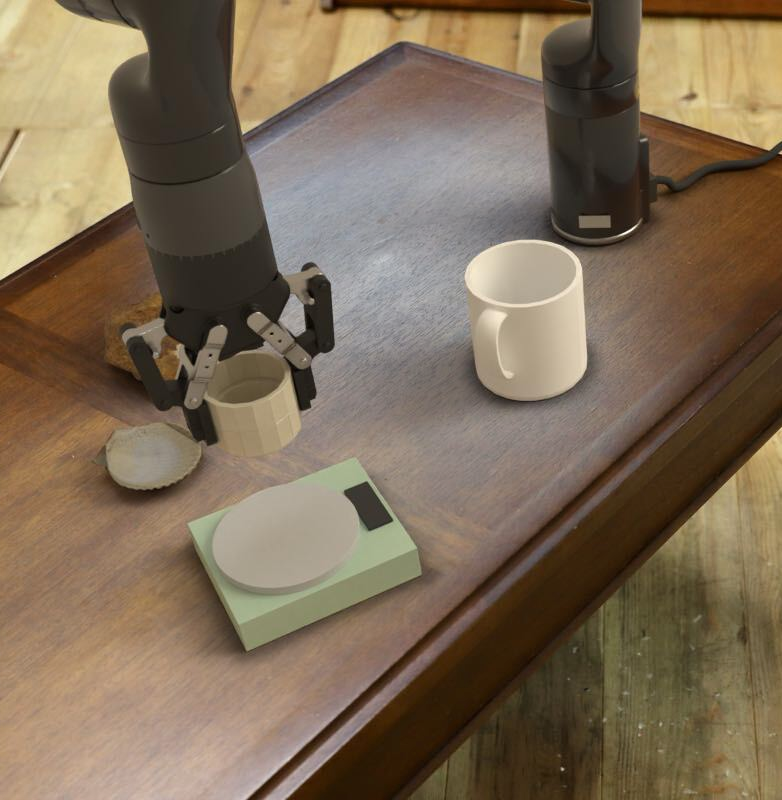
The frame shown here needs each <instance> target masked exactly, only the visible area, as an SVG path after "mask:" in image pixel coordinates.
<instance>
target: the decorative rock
mask: <svg viewBox="0 0 782 800" xmlns="http://www.w3.org/2000/svg"><path fill="white" fill-rule="evenodd" d="M161 307H162V298H161V294H160V292H154V293H152V294H149V293H147V294H146V295H145V296H144V297H142V298H141V299H140V301H139V302H133V303H132V302H131V303H125V304H123V305H119V306H116V307H114V309H113V310H112V311H110V313H109V314H108V315H106V316H105V318H104V321H103V324H104V326H103V329H104V330H103V331H104V332H103V336H104V340H105V347H104V352H105V353H104V358H103V361H104V362H105V363H108V364H110V365H112V366H113V367H117V368H118V369H121V370H123V371H127V372H129V373H131V375H133V377H134V378H135V379H136V380H137V381H140V382H142V380H141V377H140V375H139V373H138V371H137V369H136V367H135V365H134V363H133V361H132V359H131V357H130V355H129V353H128V351H127V349H126V347H125V345H124V343H123V341H122V339H121V337H120V335H119V328H120V327H121V326H122V325H123V324H125V323H134V324H135V325H136V326H137V327H139V326H142V325H144V324H146V323H149V322H151V321H153V320H155V319H158V318H159V314H160V310H161ZM161 346H162V352H161V353H160V357H159V358H158V359H154V360H155V362H156V364H157V367H158V369H159V371H160V373H161V375H162V377H163V379H164V380H175V376H176V373H177V369H178V366H179V361H180V359H179V350H180V347H181V343H179V342H177V341H176V340H174V339H172V338H171V337H169V336H166V337H165V338H164V339H163V340H162V343H161Z"/></svg>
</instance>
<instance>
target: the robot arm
mask: <svg viewBox="0 0 782 800" xmlns="http://www.w3.org/2000/svg"><path fill="white" fill-rule="evenodd" d="M54 1H55V2H56V3H57V4H58V5H59V6H61V7H62V8H63V9H64V10H66V11H68V12H69V13H72V14H74V15H77V16H78V17H81V18H84V19H88V20H92V21H96V22H100V23H105V24H111V25H115V26H119V27H123V28H128V29H132V30H136V31H141V33H142V36H143V37H144V40H145V44H146V47H147V51H145V52H143V53H139V54H136V55H135V56H132V57H130V58H128V59H126V60H125V61H123V62H122V63H121V64H120V65H118V66H117V67H116V69H115V70H114V71H113V73H112V74H111V75H110V77H109V81H108V87H107V99H108V104H109V109H110V113H111V116H112V120H113V124H114V128H115V132H116V134H117V137H118V141H119V144H120V148H121V152H122V155H123V158H124V161H125V165H126V167H127V173H128V178H129V183H130V192H131V198H132V202H133V207H134V210H135V220H136V223H137V227H138V228H139V231H141V234H142V237H143V241H144V245H145V247H146V250H147V253H148V258H149V261H150V264H151V267H152V270H153V275H154V277H155V281H156V284H157V288H158V291H159V293H160V294H161V298H162V307H161V310H160V314H159V318H158V319H155V320H153V321H151V322H149V323H146V324H144V325H142V326H139V327H137V326H136V325H135V324H134V323H125V324H123V325H122V326H121V327H120V328H119V335H120V337H121V339H122V341H123V343H124V345H125V347H126V349H127V351H128V353H129V355H130V357H131V359H132V361H133V363H134V365H135V367H136V369H137V371H138V373H139V375H140V377H141V380H142V381H141V382H142V383H143V386H144V388H145V389H146V391H147V394H148V395H149V397H150V399H151V401H152V403H153V405H154V407H155V408H156V410H158V411H159V412H167V411H169V410H171V409H172V408H173V407H180V408H181V411H182V413H183V416H184V420H185V423H186V428H188V429H189V430H190V432H191V434H192V436H193V438H194V439H195V440H196V441H197V442H204V443H205V445H206V446H207V447H210V446H213V445H216V443H217V439H216V435H215V432H214V428H213V425H212V421H211V418H210V415H209V411H208V408H207V404H206V403H205V401H204V400H203V397H204V394H205V391H206V387H207V384H208V382H209V381H211V380H212V379H213V376H214V372H215V369H216V365H217V362H218V361H219V362H221V361H224V360H226V359H229V358H231V357H233V356H235V355H236V354H238V353H240V352H242V351H249V350H258V349H260V348H263V347H264V346H265V345H264V343H265V342H266V343H268V345H270V346H271V347H272V348H273V349H274V350H275V351H276V352H277V353H279V355H280V356H282V357H283V358H285V360H286V361H287V363H288V364H289V366H290V367H291V371H292V376H293V380H294V384H295V389H296V393H297V397H298V401H299V406H300V410H301V412H304V411H307V410H310V409H312V403H311V401H314V400H315V399H316V398H317V393H318V391H317V387H316V383H315V377H314V373H313V368H312V363H313V360H314V358H316V357H317V356H318V355H319V354H329V353H331V352H332V351H333V350H334V348H335V346H336V341H335V340H336V339H335V338H336V337H335V324H334V312H333V311H334V309H333V295H332V283H331V281H330V280H329V279H328V278H327V275H325V273H324V272H323V270H322V269H321V268H320V267H319V266H318V265H317V263H315V262H313V261H308V262H306V263H304V264H303V265H302V266H301V268H300V271H298V272H295V273H290V274H286V275H283V274H282V273H281V272H280V271H279V267H278V263H277V258H276V255H275V251H274V247H273V242H272V238H271V237H272V236H271V233H270V228H269V225H268V220H267V216H266V211H265V207H264V202H263V198H262V194H261V190H260V189H261V188H260V185H259V181H258V176H257V173H256V170H255V167H254V166H253V162H252V160H251V158H250V156H249V153H248V149H247V146H246V144H245V139H244V134H243V131H242V126H241V122H240V118H239V117H240V116H239V113H238V108H237V104H236V100H235V96H234V91H233V87H232V85H233V84H232V83H233V64H234V63H233V62H234V52H235V51H234V50H235V49H234V48H235V28H236V27H235V26H236V25H235V24H236V11H237V0H54ZM563 1H565V2H570V3H577V4H583V5H590V16H589V17H585V18H580V19H576V20H572V21H569V22H567V23H564V24H561V25H559V26H558V27H555V28H554V29H553V30H551V31H550V32H549V33H548V34H547V35H546V36H545V37H544V38H543V41H542V42H541V46H540V63H541V64H540V65H541V78H542V91H543V105H544V118H545V119H544V120H545V129H546V130H545V132H546V147H547V159H548V161H547V162H548V173H549V189H550V202H551V203H550V209H551V214H550V215H551V216H550V217H551V226H552V228H553V230H554V231H555V233H556V234H557V235H559V236H560V237H562V239H565V240H567V241H570V242H572V243H575V244H580V245H588V246H600V245H601V246H603V245H610V244H614V243H618V242H621V241H623V240H626V239H628V238H630V237H631V236H633V235H635V233H637V232H638V231H639V230H640V228H641V227H642V225H643V224H644V223H647V222H649V221H650V220H651V204H654V203H656V202H658V185H664V186H666V187H667V189H669V190H670V191H672V192H681V191H684V190H687V188H690V187H691V185H693V184H694V183H696V182H697V181H698V180H700V179H701V178H702V177H704V176H705V175H707V174H710V173H714V172H718V171H723V170H733V169H735V170H736V169H737V170H738V169H747V168H748V169H749V168H753V167H758V166H761V165H764V164H766V163H767V162H769V161H771V160H772V159H774V158H775V157H776V156H777V155H779V154H780V153H781V152H782V140H781V141H779V142H778V143H777V144H775V145H774V146H773V147H772V148H771V149H769V150H768V151H767V152H766V153H764V154H762V155H759V156H756V157H753V158H752V157H751V158H747V159H746V158H745V159H733V160H721V161H715V162H711V163H708V164H705V165H703V166H701V167H699V168H698V169H696V170H694V171H693V172H692V173H691V174H690V175H689V176H687V177H686V178H685V179H684V180H681V181H679V182H678V181H677V182H675V181H674V180H673V179H672V178H671V177H669V176H667V175H658V174H657V175H655V174H654V173H652V172H651V171H650V139H649V138H648V136H647V135H646V134H645V133H643V132H642V131H641V107H640V106H641V97H640V96H641V95H640V56H639V55H640V45H641V37H642V36H641V35H642V26H643V25H642V24H643V0H563ZM770 152H771V153H770ZM773 153H774V154H773ZM291 295H295V297H296V298H297V300H298V301H299V302H300V303H301V304H302V305H303V316H304V326H305V327H304V328H305V331H302V332H301V333H300V334H299V335H295V334H294V333H293V332H292V331H291V330H290V329H289V328H288V327H287V326H286V325H285V324H284V323H283V322H282V321H281V320H280V318H281V316H282V314H283V312H284V309H285V308H286V306H287V304H288V302H289V299H290V297H291ZM166 336H169V337H171V338H172V339H174V340H176V341H177V342H179V343H181V347H180V350H179V359H180V361H179V366H178V369H177V373H176V376H175V380H164V379H163V377H162V375H161V373H160V371H159V369H158V367H157V364H156V362H155V360H154V359H158V358H159V357H160V353H161V352H162V346H161V343H162V340H163V339H164V338H165V337H166Z"/></svg>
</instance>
